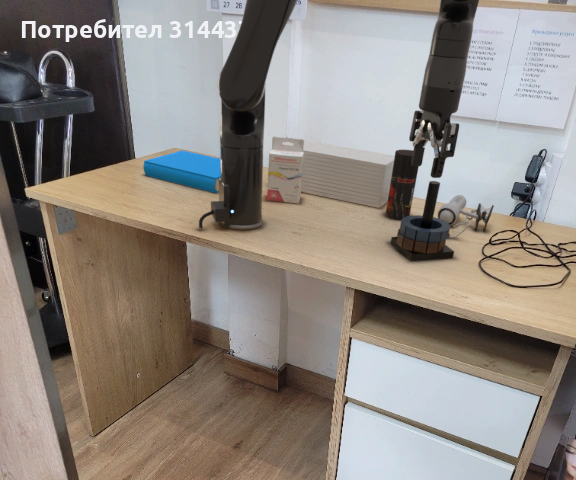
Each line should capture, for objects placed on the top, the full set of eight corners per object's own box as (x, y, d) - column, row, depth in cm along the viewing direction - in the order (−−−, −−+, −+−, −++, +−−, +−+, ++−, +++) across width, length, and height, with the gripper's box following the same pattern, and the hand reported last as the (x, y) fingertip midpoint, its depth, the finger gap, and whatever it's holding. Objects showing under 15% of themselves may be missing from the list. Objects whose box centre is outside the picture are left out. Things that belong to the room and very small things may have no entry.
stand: (410, 261, 115) (424, 190, 107) (390, 243, 123) (401, 176, 114) (452, 258, 118) (469, 189, 109) (430, 240, 125) (444, 174, 117)
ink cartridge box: (266, 201, 143) (268, 140, 134) (269, 195, 147) (271, 135, 138) (299, 203, 142) (303, 142, 134) (301, 198, 146) (305, 138, 138)
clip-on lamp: (466, 256, 127) (494, 219, 137) (474, 232, 122) (502, 196, 132) (420, 239, 131) (449, 205, 141) (425, 215, 126) (455, 181, 136)
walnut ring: (409, 254, 114) (411, 244, 113) (388, 236, 122) (389, 227, 121) (452, 251, 117) (455, 241, 116) (429, 234, 125) (431, 224, 123)
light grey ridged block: (392, 198, 150) (399, 156, 144) (379, 208, 143) (385, 164, 136) (288, 177, 162) (290, 137, 155) (271, 185, 154) (272, 144, 147)
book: (181, 150, 165) (251, 163, 155) (182, 165, 167) (251, 179, 158) (141, 161, 153) (215, 176, 143) (143, 177, 155) (215, 193, 145)
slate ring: (411, 243, 113) (413, 232, 112) (392, 225, 121) (394, 215, 120) (456, 241, 116) (458, 231, 114) (435, 224, 124) (437, 214, 122)
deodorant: (409, 220, 136) (420, 156, 127) (384, 218, 137) (394, 154, 128) (409, 213, 141) (421, 151, 132) (386, 210, 141) (396, 148, 133)
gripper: (408, 77, 110) (394, 162, 119) (444, 89, 99) (425, 182, 108) (441, 78, 112) (425, 162, 121) (480, 89, 101) (459, 181, 110)
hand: (425, 171), depth 115 cm, fingers open, 8 cm apart
